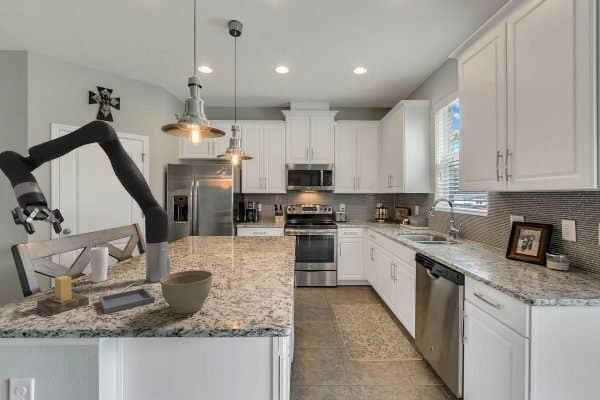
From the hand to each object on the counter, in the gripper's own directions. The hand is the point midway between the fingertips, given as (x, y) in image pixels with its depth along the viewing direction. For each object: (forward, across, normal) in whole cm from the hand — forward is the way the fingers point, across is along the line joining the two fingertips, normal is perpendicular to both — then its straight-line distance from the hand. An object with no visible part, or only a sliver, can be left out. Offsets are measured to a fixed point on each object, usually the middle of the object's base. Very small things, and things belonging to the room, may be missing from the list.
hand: (46, 232), depth 100 cm
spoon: (+30, +20, 0) cm, 36 cm away
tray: (+37, +8, -10) cm, 39 cm away
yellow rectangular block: (+27, 0, +6) cm, 27 cm away
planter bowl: (+52, +8, -30) cm, 61 cm away
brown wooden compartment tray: (+27, 0, +6) cm, 27 cm away
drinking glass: (+16, +26, +18) cm, 35 cm away
